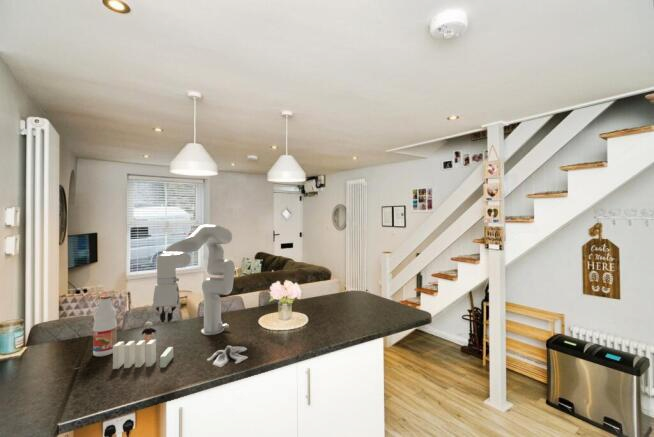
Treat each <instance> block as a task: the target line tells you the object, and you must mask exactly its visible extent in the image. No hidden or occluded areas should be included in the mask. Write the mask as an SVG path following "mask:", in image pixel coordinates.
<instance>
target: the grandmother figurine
mask: <svg viewBox="0 0 654 437" xmlns="http://www.w3.org/2000/svg"><path fill="white" fill-rule="evenodd" d="M153 325H154V324H153V322H152V321H146V322H145V329H143V330H142V331H141V334H140V338H141V337H143V336H144V338H143V340H146V344H147V343H148V342H149V341H150V340H154V339H153V338H154V337H153V336H154V335H155V336H157V335H158V333H157V329H154V328H152V327H153ZM153 334H154V335H153Z"/></svg>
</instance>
